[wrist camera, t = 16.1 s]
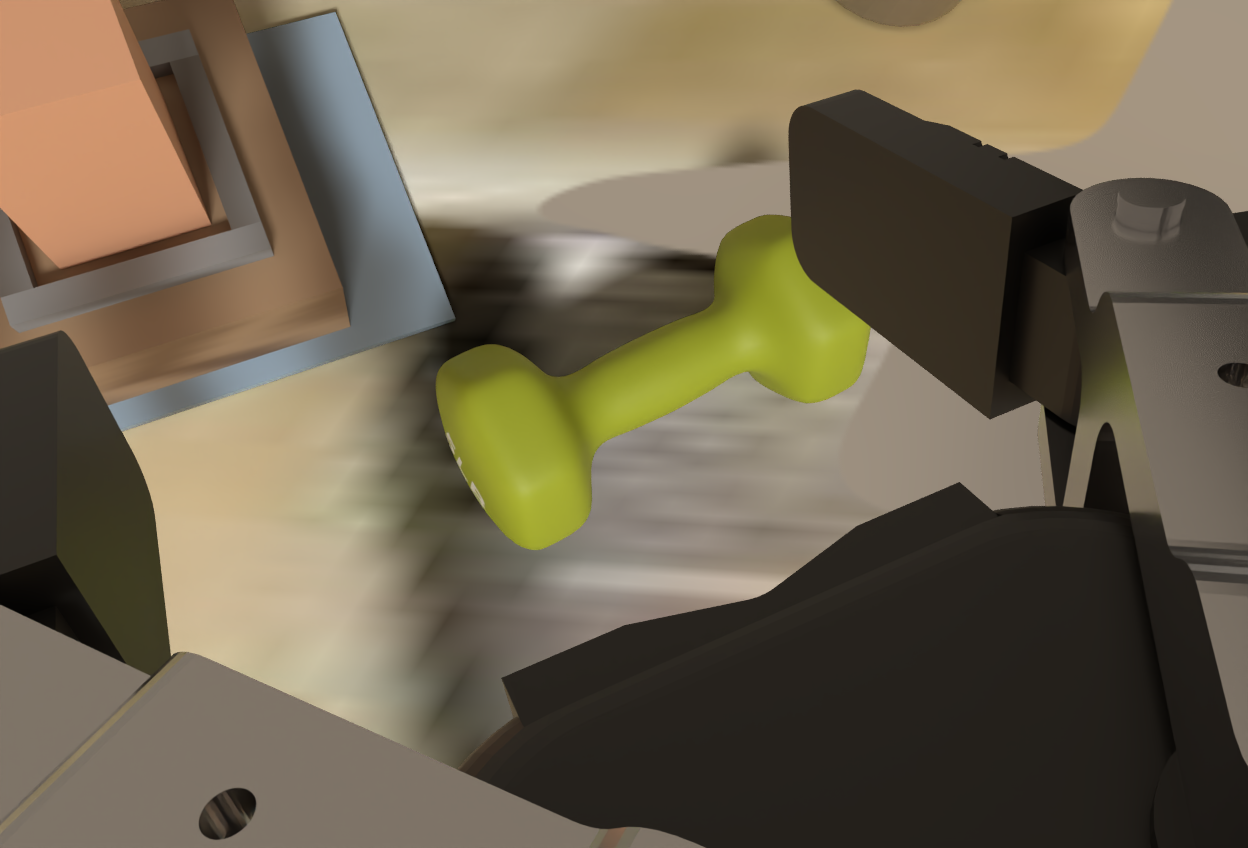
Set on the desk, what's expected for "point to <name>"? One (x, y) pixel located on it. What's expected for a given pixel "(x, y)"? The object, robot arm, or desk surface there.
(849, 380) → the dumbbell
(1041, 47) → the desk surface
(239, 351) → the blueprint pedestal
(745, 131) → the desk surface
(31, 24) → the terracotta block
